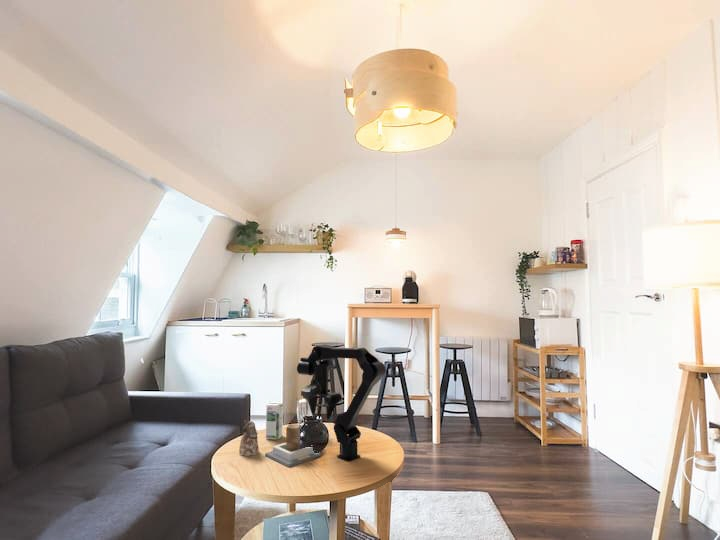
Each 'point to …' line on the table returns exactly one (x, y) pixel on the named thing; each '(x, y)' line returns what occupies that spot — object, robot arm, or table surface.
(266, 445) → the table surface
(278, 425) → the syrup box
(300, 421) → the beer glass
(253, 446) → the figurine
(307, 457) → the socket board
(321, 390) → the robot arm
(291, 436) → the walnut peg block
